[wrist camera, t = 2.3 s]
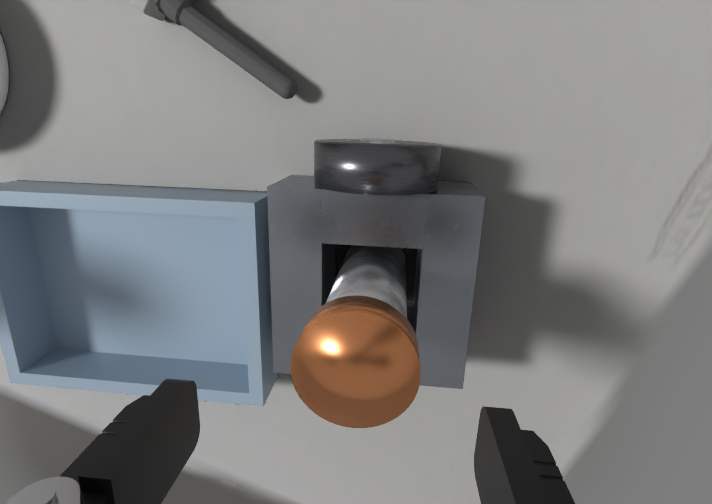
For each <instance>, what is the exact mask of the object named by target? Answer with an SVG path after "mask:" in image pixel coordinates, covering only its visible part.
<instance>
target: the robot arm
mask: <svg viewBox="0 0 712 504" xmlns="http://www.w3.org/2000/svg"><path fill="white" fill-rule="evenodd" d="M199 432H200V420H199V409H198V397H197V386H196V383H195V382H194V381H192V380H180V379H165V380H164V381H163V382H162V383H161V384H160V385H159V386H158V387H157V389H156V390H155V391H154V392H153V393H152V394H151V395H150V396H149V395H144V396H142V397H140V398H139V399H137V400H135V401H134V402H132V403H131V404H129V405H127V406H126V407H125V408H124V409H123V410H122V411H121V412H120V413H119V414H118V415H117V416H116V417H115V418H114V419H113V422H112V423H110V424H109V425H108V426H107V427H106V428H105V429H104V430H103V431H102V434H99V435H98V436H97V437H96V439H95V440H94V441H93V442H92V443H91V444H90V445H89V446H88V447H87V448H86V449H85V450H84V451H83V452H82V453H81V454H80V455H79V457H78V458H77V459H76V460H75V461H74V462H73V463H72V464H71V465H70V466H69V467H68V468H67V469H66V470H65V471H64V472H63V473H62V474H61V476H60V477H52V478H48V479H44V480H41V481H38V482H36V483H34V484H31V485H29V486H27V487H26V488H24V489H22V490H21V491H19V492H18V493H17V494H15V495H14V496H13V497H12V498H11V499H10V500H9V501H8V502H7V503H6V504H161V503H162V501H163V500H164V498H165V496H166V495H167V493H168V491H169V490H170V488H171V487H172V485H173V483H174V482H175V480H176V478H177V477H178V475H179V474H180V472H181V470H182V469H183V467H184V465H185V464H186V462H187V461H188V459H189V457H190V456H191V454H192V452H193V451H194V449H195V447H196V444H197V441H198V438H199ZM474 470H475V478H476V483H477V487H478V491H479V496H480V500H481V504H575V503H574V500H573V498H572V496H571V494H570V492H569V490H568V488H567V485H566V483H565V481H563V479H562V478H563V477H562V475H561V473H560V471H559V469H558V466H556V462H555V460H554V458H553V456H552V454H551V452H550V449H549V447H548V446H547V445H546V444H545V443H544V442H543V441H542V440H541V439H540V438H539V437H538V436H537V435H536V433H535V432H534V431H528V430H521V429H520V427H519V424H518V422H517V419H516V417H515V415H514V412H513V411H512V409H505V408H494V407H482V409H481V413H480V420H479V426H478V433H477V440H476V447H475V454H474Z"/></svg>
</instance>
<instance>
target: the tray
mask: <svg viewBox="0 0 712 504" xmlns="http://www.w3.org/2000/svg"><path fill="white" fill-rule="evenodd" d="M0 342H1V346H2V350H3V354H4V358H5V362H6V366H7V370H8V374H9V378H10V382H11V383H16V384H27V385H38V386H48V387H59V388H70V389H81V390H92V391H102V392H113V393H124V394H135V395H149V396H150V395H151V394H152V393H153V392H154V391H155V390H156V389H157V387H158V386H159V385H160V384H161V383H162V382H163V381H164V380H165V379H180V380H192V381H194V382H195V383H196V386H197V397H198V400H199V401H210V402H221V403H232V404H243V405H253V406H264V404H265V402H266V400H267V398H268V396H269V394H270V392H271V389H272V387H273V385H274V383H275V381H276V379H277V377H278V375H279V373H274V372H273V342H272V313H271V284H270V255H269V226H268V197H267V192H266V191H244V190H222V189H201V188H179V187H157V186H135V185H113V184H91V183H69V182H47V181H25V180H17V181H11V182H4V183H0Z"/></svg>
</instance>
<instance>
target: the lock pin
mask: <svg viewBox="0 0 712 504" xmlns="http://www.w3.org/2000/svg"><path fill="white" fill-rule="evenodd" d="M290 370H291V377H292V381H293V384H294V387H295V390H296V391H297V393H298V395H299V397H300V398H301V399H302V401H303V402H304V403H305V404H306V405H307V406H308V408H309V409H311V410H312V411H313V412H314V413H315V414H317V415H319V416H320V417H322V418H323V419H325V420H327V421H329V422H332V423H334V424H337V425H341V426H345V427H352V428H368V427H374V426H378V425H382V424H385V423H387V422H389V421H391V420H393V419H395V418H396V417H398V416H399V415H401V414H402V413H403V412H404V411H405V410H406V409H407V408H408V407H409V406H410V404H411V403H412V401H413V400H414V398H415V396H416V394H417V391H418V388H419V384H420V360H419V347H418V340H417V337H416V334H415V332H414V330H413V327H412V326H411V324H410V323H409V321H408V320H407V295H406V260H405V255H404V253H403V250H402V249H401V248H396V247H378V246H360V245H351V246H350V248H349V249H348V251H347V254H346V256H345V259H344V261H343V263H342V266H341V268H340V271H339V273H338V275H337V278H336V280H335V282H334V285H333V287H332V290H331V292H330V294H329V297H328V299H327V302H326V304H324V305H322V306H321V307H320V308H318V309H317V310H316V311H315V312H314V313H313V314H312V315H311V316H310V318H309V319H308V321H307V322H306V324H305V326H304V328H303V330H302V332H301V335H300V337H299V339H298V341H297V343H296V345H295V347H294V350H293V353H292V357H291V365H290Z"/></svg>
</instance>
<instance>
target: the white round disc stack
mask: <svg viewBox="0 0 712 504" xmlns="http://www.w3.org/2000/svg"><path fill="white" fill-rule="evenodd" d="M8 86H9V69H8V60H7V54H6V49H5V46H4V42H3V39H2V36H1V34H0V114H1V112H2V110H3V107H4V105H5V101H6V98H7V93H8Z"/></svg>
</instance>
